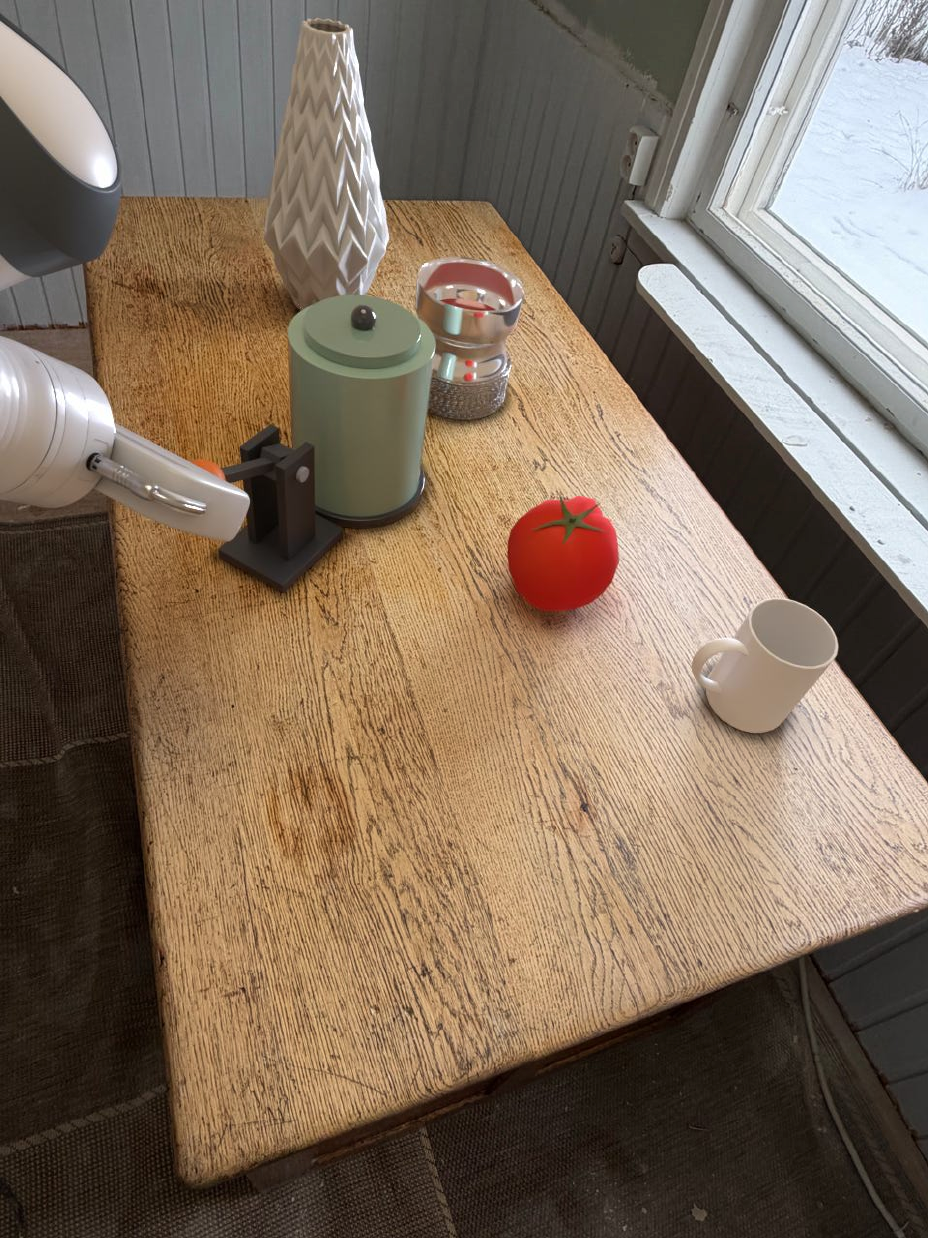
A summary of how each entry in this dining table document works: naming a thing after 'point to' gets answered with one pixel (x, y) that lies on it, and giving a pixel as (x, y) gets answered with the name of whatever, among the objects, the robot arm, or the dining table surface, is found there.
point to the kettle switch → (249, 465)
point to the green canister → (361, 405)
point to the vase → (325, 175)
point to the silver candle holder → (468, 333)
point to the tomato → (563, 554)
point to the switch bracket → (280, 518)
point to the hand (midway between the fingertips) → (177, 474)
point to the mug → (766, 664)
